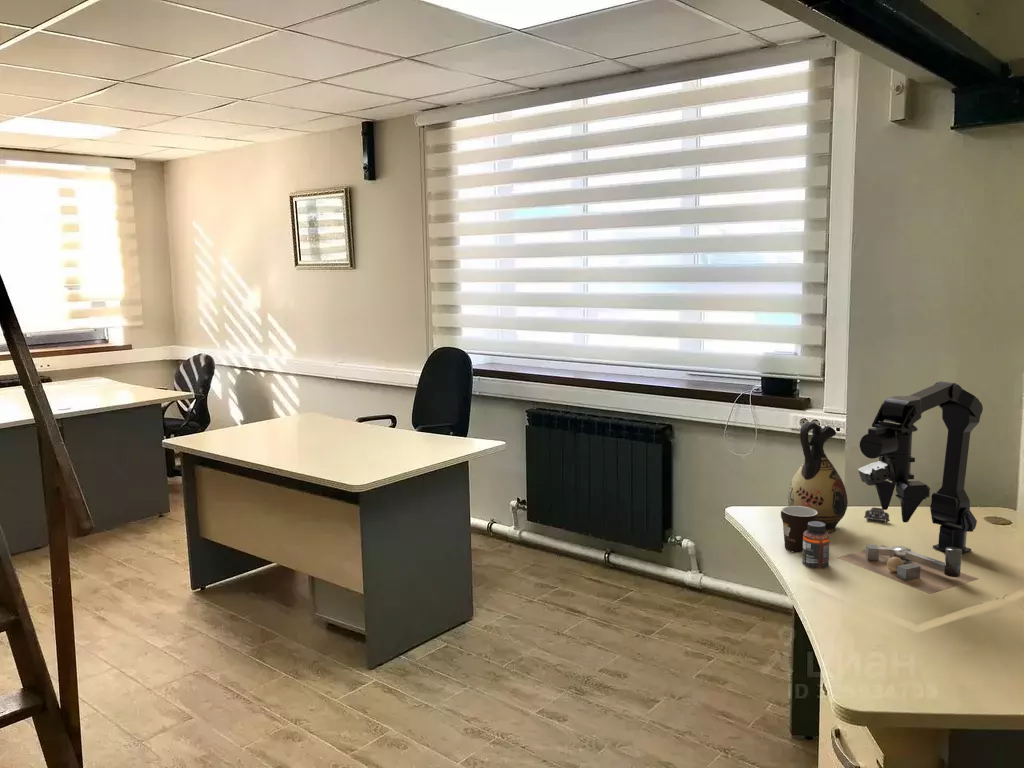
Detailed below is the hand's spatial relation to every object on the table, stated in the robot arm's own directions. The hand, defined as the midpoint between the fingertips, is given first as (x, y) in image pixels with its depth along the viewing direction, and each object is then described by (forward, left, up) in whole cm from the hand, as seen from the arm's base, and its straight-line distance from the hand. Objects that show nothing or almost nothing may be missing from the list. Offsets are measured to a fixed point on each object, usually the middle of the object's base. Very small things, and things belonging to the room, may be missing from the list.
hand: (894, 515), depth 191 cm
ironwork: (0, +3, -12) cm, 12 cm away
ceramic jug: (-8, -30, -14) cm, 34 cm away
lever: (-1, +4, -12) cm, 13 cm away
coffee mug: (+7, -22, -14) cm, 27 cm away
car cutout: (-30, -22, -14) cm, 40 cm away
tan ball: (+3, +3, -12) cm, 13 cm away
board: (-1, +3, -13) cm, 14 cm away
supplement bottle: (+15, -9, -14) cm, 22 cm away
